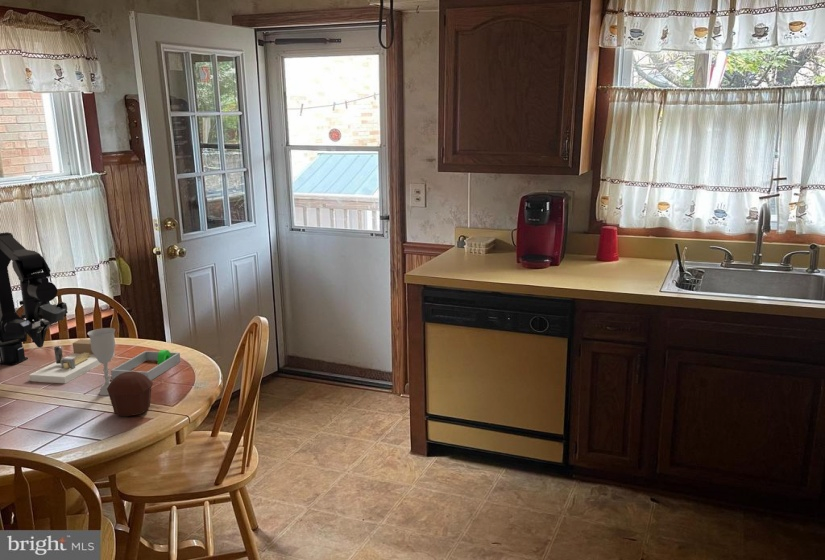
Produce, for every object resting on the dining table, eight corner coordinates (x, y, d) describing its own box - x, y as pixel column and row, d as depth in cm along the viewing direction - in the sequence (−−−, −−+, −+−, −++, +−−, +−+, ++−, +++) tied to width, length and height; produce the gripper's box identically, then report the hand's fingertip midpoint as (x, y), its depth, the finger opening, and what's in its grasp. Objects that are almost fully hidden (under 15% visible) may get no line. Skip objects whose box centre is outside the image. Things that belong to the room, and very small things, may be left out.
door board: (29, 381, 202) (27, 363, 201) (82, 355, 225) (80, 339, 224) (65, 383, 200) (63, 365, 199) (114, 356, 223) (113, 341, 222)
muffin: (107, 405, 183) (103, 371, 181) (150, 397, 189) (147, 363, 186) (112, 421, 173) (108, 385, 171) (158, 412, 178) (154, 377, 176)
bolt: (50, 367, 207) (47, 350, 206) (72, 356, 217) (70, 340, 215) (68, 368, 206) (66, 351, 205) (89, 357, 215) (87, 341, 214)
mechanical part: (178, 377, 210) (176, 353, 209) (159, 377, 210) (156, 353, 209) (191, 365, 222) (189, 341, 220) (173, 365, 222) (171, 341, 220)
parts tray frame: (111, 379, 202) (110, 370, 202) (146, 359, 220) (145, 350, 219) (148, 382, 200) (147, 372, 200) (180, 361, 218) (179, 352, 217)
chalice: (116, 385, 198) (110, 326, 194) (126, 391, 193) (119, 331, 189) (90, 392, 193) (83, 331, 189) (99, 398, 188) (92, 336, 184)
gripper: (34, 305, 187) (41, 359, 191) (78, 290, 205) (84, 339, 209) (-1, 304, 190) (7, 356, 193) (46, 288, 207) (53, 337, 211)
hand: (40, 347), depth 201 cm, fingers closed
